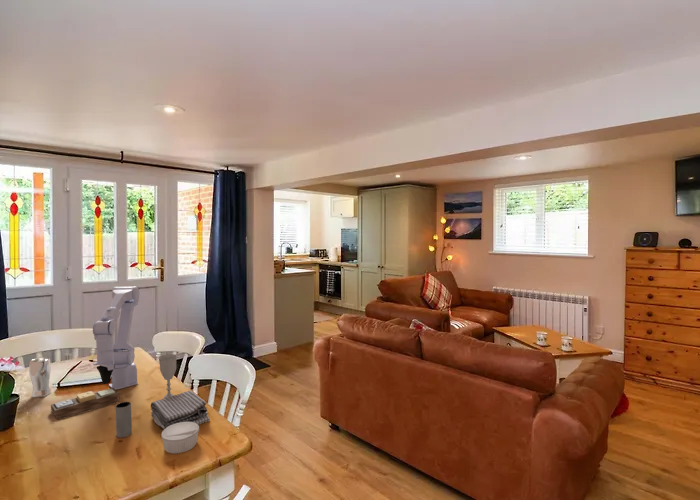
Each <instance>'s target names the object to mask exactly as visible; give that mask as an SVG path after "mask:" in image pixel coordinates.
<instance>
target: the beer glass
mask: <svg viewBox="0 0 700 500" xmlns="http://www.w3.org/2000/svg"><path fill="white" fill-rule="evenodd" d="M28 369H29V377H30V378H29V379H30V382H31V385H32V393H31V397H32V398H38V399H39V398H43V397H46V396H49V395H50V394H51V390H50V389H51V388H50V379H51V370H52V366H51V359H50V357H49V356H41V357H35V358H33V359H30V360H29V368H28Z"/></svg>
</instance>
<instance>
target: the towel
mask: <svg viewBox="0 0 700 500" xmlns="http://www.w3.org/2000/svg"><path fill="white" fill-rule="evenodd" d="M173 395H174V396H171V397H168V398H164V397H163V398H162V399H158V400H154V401H152V402H151V403H150V408H151V412H150V413H151V417H152V418H153V421H154V422H155V424H156V425H157V426H159V427H160V428H162V429H163V430H164V429H166V428H167V427H168V426H170V425H173V424H176V423H180V422H194V423H196V424H198V426H200V425H203V424H204V422H205V423H208V422H210V421H211V418H210V417H209V412H208V408H207V407H206V405H207V402H206V401H205V400H204V399H203V398H202V397H200V396H199V395H198V394H196V393H195V392H193V391H192V390H187V391H184V392H181V393H179V394H173ZM207 421H208V422H207ZM199 424H200V425H199Z"/></svg>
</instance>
